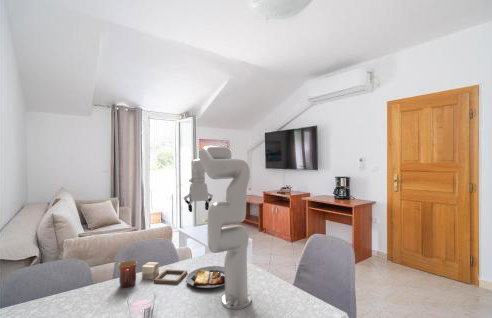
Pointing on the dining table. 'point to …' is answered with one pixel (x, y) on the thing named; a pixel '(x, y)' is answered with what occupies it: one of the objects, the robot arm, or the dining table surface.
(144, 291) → the dining table surface
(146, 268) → the birch block
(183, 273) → the walnut frame
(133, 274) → the mug
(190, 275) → the food plate
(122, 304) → the dining table surface
